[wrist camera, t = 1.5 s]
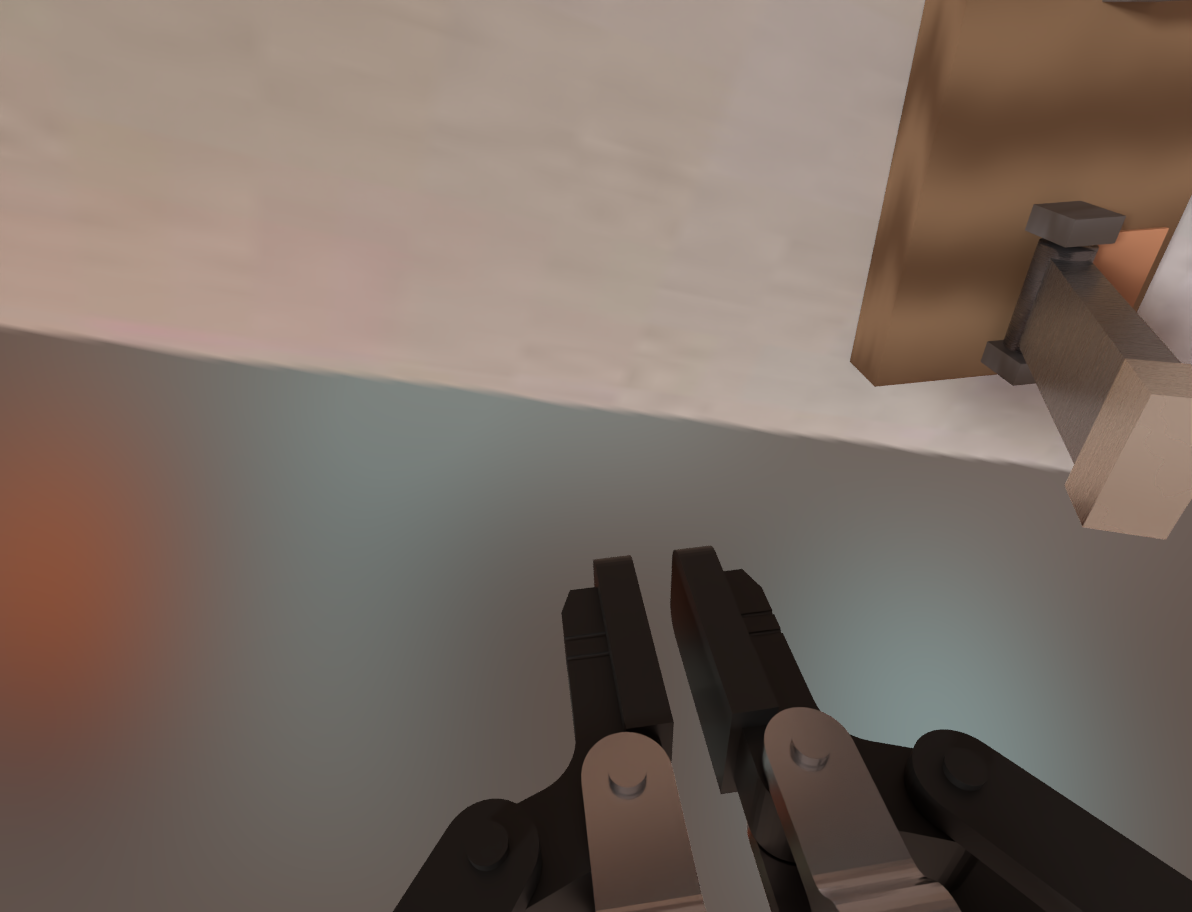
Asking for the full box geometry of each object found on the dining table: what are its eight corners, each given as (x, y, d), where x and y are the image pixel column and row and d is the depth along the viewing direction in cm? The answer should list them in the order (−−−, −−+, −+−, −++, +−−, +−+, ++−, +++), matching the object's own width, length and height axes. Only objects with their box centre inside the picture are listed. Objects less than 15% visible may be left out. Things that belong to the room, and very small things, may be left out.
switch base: (989, -309, 23) (1117, -388, 18) (1347, -310, 24) (1551, -384, 19) (850, 361, 38) (900, 412, 33) (1074, 340, 39) (1152, 385, 34)
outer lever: (1033, 235, 32) (1151, 394, 19) (1090, 237, 31) (1250, 404, 19) (998, 334, 35) (1082, 527, 22) (1050, 338, 34) (1165, 539, 22)
